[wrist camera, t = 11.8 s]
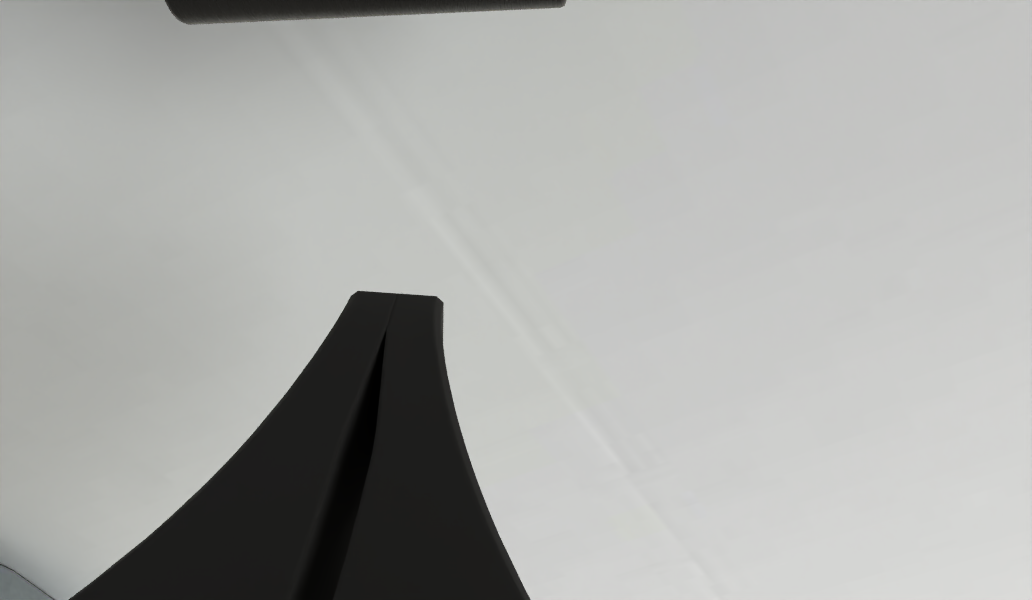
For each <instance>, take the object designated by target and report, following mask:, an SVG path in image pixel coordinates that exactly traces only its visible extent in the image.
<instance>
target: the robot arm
mask: <svg viewBox="0 0 1032 600" xmlns="http://www.w3.org/2000/svg"><path fill="white" fill-rule="evenodd" d="M69 600H530V598H529V596H528V594H527V592H526V590H525V588H524V586H523V584H522V582H521V580H520V578H519V576H518V574H517V572H516V570H515V568H514V566H513V563H512V561H511V559H510V557H509V555H508V553H507V551H506V549H505V547H504V545H503V543H502V540H501V538H500V536H499V534H498V532H497V529H496V527H495V524H494V522H493V520H492V517H491V515H490V512H489V510H488V508H487V505H486V503H485V500H484V497H483V495H482V492H481V490H480V487H479V484H478V482H477V479H476V476H475V473H474V470H473V468H472V465H471V462H470V459H469V456H468V453H467V449H466V446H465V443H464V439H463V436H462V433H461V430H460V426H459V422H458V419H457V415H456V411H455V407H454V403H453V398H452V394H451V389H450V385H449V380H448V376H447V370H446V364H445V357H444V350H443V302H442V301H441V300H440V299H439V298H438V297H437V296H424V295H410V294H395V293H381V292H366V291H357V292H356V293H355V294H353V295H352V296H351V297H350V299H349V301H348V303H347V304H346V306H345V308H344V310H343V311H342V313H341V315H340V316H339V318H338V320H337V321H336V323H335V325H334V326H333V328H332V329H331V331H330V332H329V334H328V336H327V337H326V339H325V340H324V342H323V343H322V345H321V346H320V347H319V349H318V350H317V352H316V353H315V355H314V356H313V358H312V359H311V360H310V362H309V363H308V364H307V366H306V367H305V369H304V370H303V371H302V373H301V374H300V375H299V377H298V378H297V379H296V381H295V382H294V384H293V385H292V386H291V388H290V389H289V390H288V392H287V393H286V394H285V395H284V397H283V398H282V399H281V400H280V402H279V403H278V404H277V405H276V406H275V408H274V409H273V410H272V411H271V412H270V414H269V415H268V416H267V417H266V418H265V420H264V421H263V422H262V423H261V424H260V426H259V427H258V428H257V429H256V430H255V432H254V433H253V434H252V435H251V436H250V437H249V439H248V440H247V441H246V442H245V443H244V444H243V445H242V446H241V447H240V449H239V450H238V451H237V452H236V453H235V454H234V455H233V456H232V457H231V458H230V459H229V460H228V461H227V462H226V464H225V465H224V466H223V467H222V468H221V469H220V470H219V471H218V472H217V473H216V474H215V475H214V476H213V477H212V478H211V479H210V480H209V481H208V482H207V483H206V484H205V485H204V486H203V487H202V488H201V489H200V490H199V491H198V492H196V493H195V494H194V495H193V496H192V497H191V498H190V499H189V500H188V501H187V502H186V503H185V504H184V505H183V506H182V507H181V508H179V509H178V510H177V511H176V512H175V513H174V514H173V515H172V516H171V517H170V518H169V519H168V520H166V521H165V522H164V523H163V524H162V525H161V526H160V527H159V528H157V529H156V530H155V531H154V532H153V533H152V534H151V535H149V536H148V537H147V538H146V539H145V540H143V541H142V542H141V543H140V544H138V545H137V546H136V547H135V548H134V549H132V550H131V551H130V552H129V553H127V554H126V555H125V556H124V557H122V558H121V559H120V560H119V561H117V562H116V563H115V564H114V565H112V566H111V567H110V568H109V569H108V570H106V571H105V572H104V573H103V574H101V575H100V576H99V577H98V578H96V579H95V580H94V581H93V582H91V583H90V584H89V585H87V586H86V587H85V588H83V589H82V590H81V591H80V592H78V593H77V594H76V595H74V596H73V597H71V598H70V599H69Z"/></svg>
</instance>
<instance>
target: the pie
mask: <svg viewBox="0 0 1032 600" xmlns="http://www.w3.org/2000/svg"><path fill="white" fill-rule="evenodd" d="M0 600H53V599H52V598H50V597H49V596H48V595H46V594H45V593H43V592H42V591H41V590H39V589H38V588H36V587H35V586H34V585H32V584H31V583H29V582H28V581H27V580H25V579H24V578H22V577H21V576H20V575H18V574H17V573H15V572H14V571H12V570H10V569H8V568H6V567H4V566H1V565H0Z"/></svg>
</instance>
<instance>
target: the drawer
mask: <svg viewBox="0 0 1032 600" xmlns="http://www.w3.org/2000/svg"><path fill="white" fill-rule="evenodd" d="M165 1H166V3H167V6H168V7H169V9H170V11H171V12H172V14H173V15H174V16H175V17H176V18H177V19H178V20H179V21H181V22H183V23H186V24H190V25H191V24H213V23H235V22H257V21H279V20H301V19H323V18H345V17H367V16H389V15H411V14H433V13H455V12H477V11H499V10H521V9H543V8H561V7H563V6H565V3H566V0H165Z"/></svg>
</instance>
